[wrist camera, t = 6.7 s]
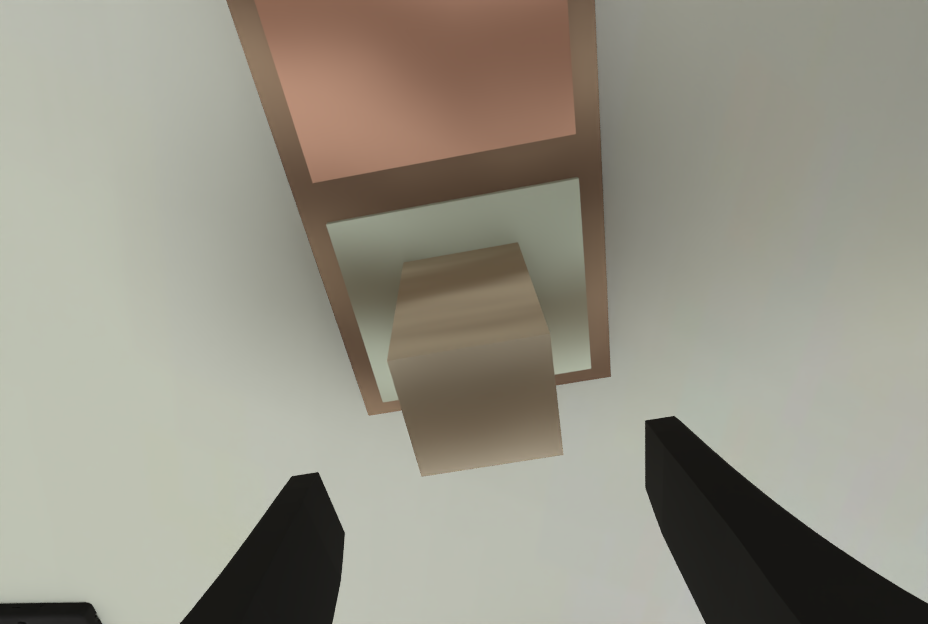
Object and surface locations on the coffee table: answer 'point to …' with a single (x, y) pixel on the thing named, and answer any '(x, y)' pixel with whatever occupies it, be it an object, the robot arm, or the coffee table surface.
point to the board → (439, 154)
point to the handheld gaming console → (48, 613)
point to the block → (473, 362)
